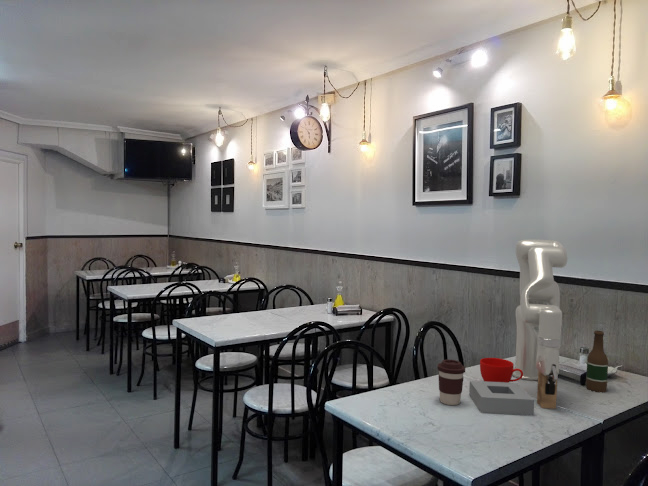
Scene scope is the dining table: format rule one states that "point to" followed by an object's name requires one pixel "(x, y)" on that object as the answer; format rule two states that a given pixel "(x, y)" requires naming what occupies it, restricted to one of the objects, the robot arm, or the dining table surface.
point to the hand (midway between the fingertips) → (546, 391)
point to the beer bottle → (597, 365)
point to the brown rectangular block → (543, 398)
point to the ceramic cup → (497, 370)
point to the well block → (501, 398)
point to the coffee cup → (450, 381)
